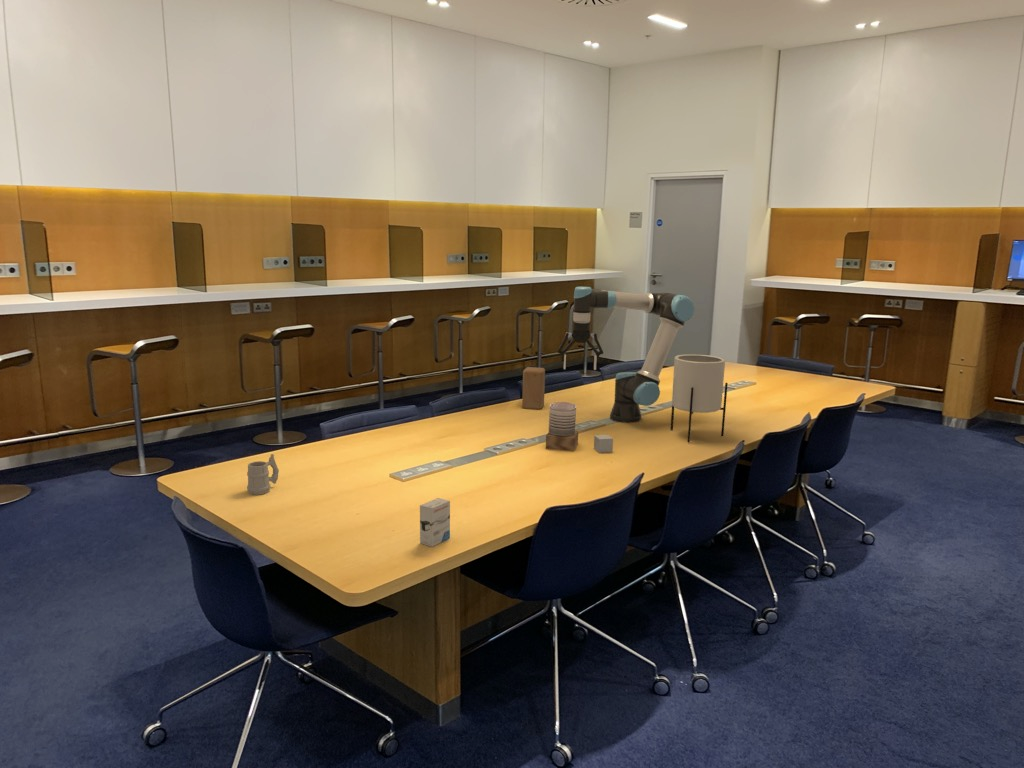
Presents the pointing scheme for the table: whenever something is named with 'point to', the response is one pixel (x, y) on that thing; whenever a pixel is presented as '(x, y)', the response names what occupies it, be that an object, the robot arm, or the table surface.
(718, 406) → the plant pot with stand
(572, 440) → the walnut block
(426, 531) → the ink box
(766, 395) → the table surface
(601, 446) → the slate block
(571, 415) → the can
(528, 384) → the wooden block
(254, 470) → the mug
